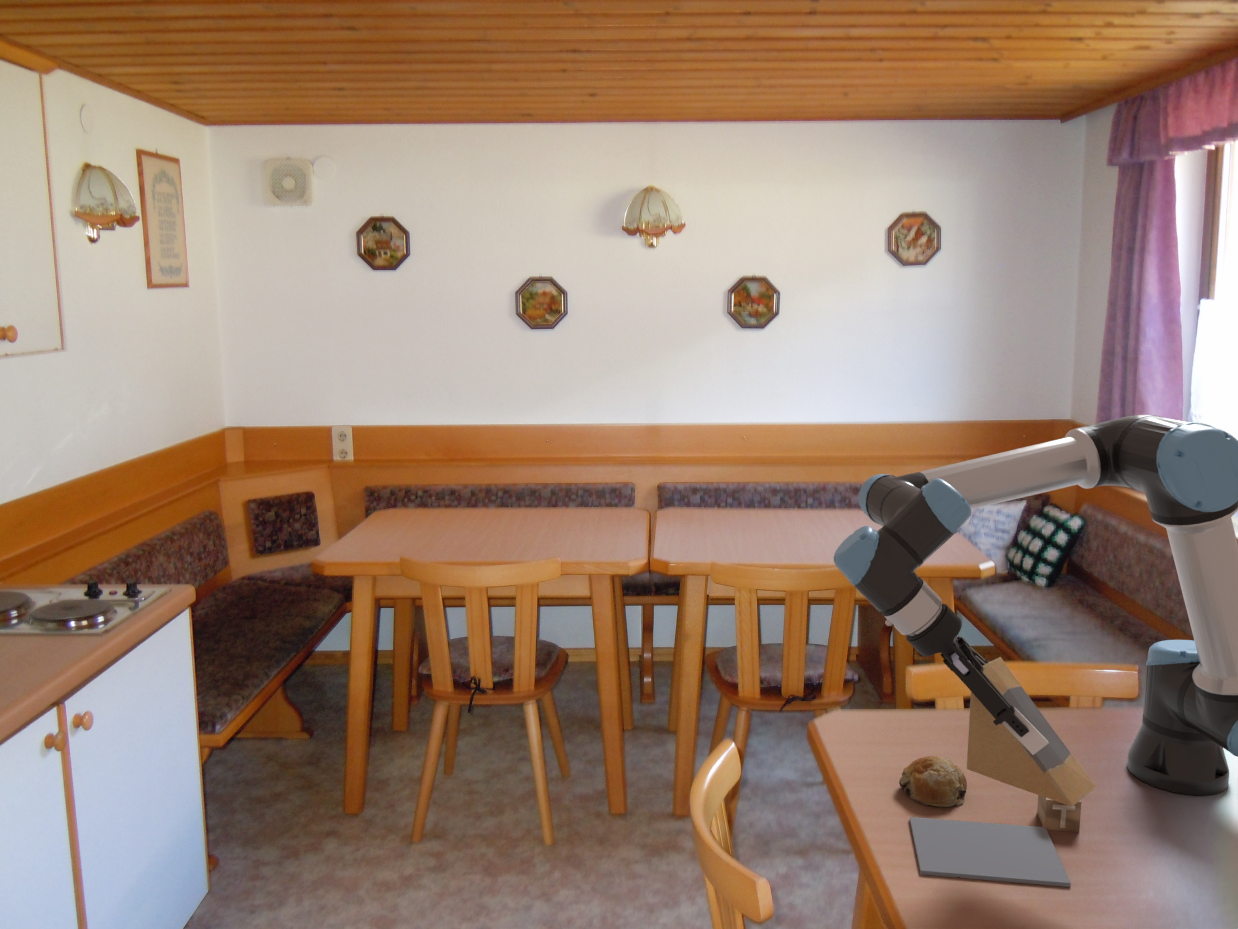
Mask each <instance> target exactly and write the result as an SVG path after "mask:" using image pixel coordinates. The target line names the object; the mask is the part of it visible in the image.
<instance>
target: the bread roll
mask: <svg viewBox="0 0 1238 929" xmlns="http://www.w3.org/2000/svg"><path fill="white" fill-rule="evenodd" d="M898 783H899V786H900V787H901V788H902V789H903V790H904V794H906V796H907V797H908V798H911V800H913V801H915V802H917V803H920V804H921V805H924V806H932V807H937V808H949V807H950V808H951V807H954V806H957V807H959V806H961V805H963V804H964V803H965V802H964V798H965V796H966V793H967V788H968V783H967V779H966V776H965V773H964V772H963V771H962V769H961V767H960V766H958V765H957V764H956V763H954V762H953V761H952V760H951V759H949V758H948V757H941V756H938V755H937V756H936V755H935V756H934V755H933V756H932V755H929V756H928V755H927V756H924V757H919V758H917V759H915V760H913V761H912V762H911V763H910V764H908V766H906V767H904V768H903V771H902V772H901V776H900V778H899V781H898Z"/></svg>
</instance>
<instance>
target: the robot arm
mask: <svg viewBox="0 0 1238 929" xmlns="http://www.w3.org/2000/svg"><path fill="white" fill-rule="evenodd" d="M1076 485H1077V486H1079V487H1081V488H1082V489H1088V490H1089V489H1092V488H1097V487H1104V486H1113V487H1115V486H1116V487H1124V488H1129V489H1132V490H1136V491H1139V492H1141V493H1144V495H1145V498H1146V502H1147V505H1148V509H1149V512H1150V517H1151V520H1152V521H1153V522H1154V523H1156V525H1157V524H1158V525H1159V526H1160V527H1163V528H1165V529H1166V533H1167V537H1168V542H1169V546H1170V549H1171V553H1172V558H1173V561H1174V565H1175V568H1176V574H1177V576H1178V577H1177V578H1178V581H1179V584H1180V589H1181V593H1182V596H1183V597H1182V598H1183V601H1184V605H1185V608H1186V612H1187V616H1188V620H1189V624H1190V628H1191V632H1192V637H1193V640H1191V639H1167V640H1161V641H1157V642H1155V643H1153V644H1152V645H1151V646H1150V647H1149V649H1148V654H1147V658H1146V662H1145V666H1146V668H1145V679H1144V680H1145V681H1144V682H1145V684H1144V697H1143V708H1142V719H1141V720H1142V721H1141V725H1140V727H1139V729H1138V732H1137V734H1136V735H1135V738H1134V739H1133V741H1132V744H1131V746H1130V748H1129V749H1128V752H1127V762H1126V767H1127V769H1128V771H1129V772H1130V773H1131V774H1132V775H1133V776H1134V777H1136V778H1137V779H1138V780H1139V781H1142V782H1143V783H1145V784H1148V785H1150V786H1152V787H1155V788H1158V789H1161V790H1164V791H1168V792H1172V793H1176V794H1177V793H1178V794H1183V795H1189V796H1190V795H1191V796H1209V795H1216V794H1220V793H1222V792H1224V791H1225V790H1227V788H1228V786H1229V781H1230V780H1229V779H1230V769H1229V768H1230V767H1229V765H1228V761H1227V758H1226V754H1225V751H1227V752H1229V753H1230V754H1231V755H1233V756H1235V757H1238V541H1237V535H1236V532H1235V527H1234V522H1233V519H1232V518H1233V516H1234V515H1235V514H1236V513H1237V512H1238V439H1237V438H1236V437H1235V436H1233V435H1232V434H1230V433H1229V432H1226V431H1225V430H1222V429H1220V428H1216V427H1214V426H1212V425H1209V424H1207V423H1201V422H1195V421H1194V422H1192V421H1190V422H1189V421H1182V420H1177V419H1173V418H1168V417H1164V416H1159V415H1155V414H1154V415H1153V414H1138V415H1137V414H1136V415H1129V416H1125V417H1123V416H1122V417H1118V418H1115V419H1110V420H1106V421H1101V422H1098V423H1094V424H1089V425H1084V426H1080V427H1076V428H1073V429H1070V430H1069V431H1068V432H1067V433H1066V434H1065V435H1064V437H1062V438H1058V439H1057V438H1056V439H1054V440H1050V441H1045V442H1042V443H1037V444H1033V445H1028V446H1024V447H1019V448H1015V449H1012V450H1011V449H1010V450H1008V451H1002V452H999V453H995V454H994V453H993V454H989V455H985V456H982V457H977V458H973V459H969V460H964V461H960V462H956V463H951V464H946V465H943V466H942V465H941V466H938V467H935V468H930V469H925V470H923V471H922V470H921V471H917V472H913V473H912V472H911V473H907V474H902V475H898V476H895V475H892V474H884V473H880V474H878V473H877V474H874V475H872V476H871V477H869V478H867V479H866V480H865V481H864V483H863V484H862V486H861V487H860V490H859V492H858V505H859V508H860V509H861V511H862V513H864V515H865V516H867V517H868V518H869V519H870V520H871V521H872V522H874V523H875V524H876V525H880V527H881V528H879V529H878V530H876V529H874V528H872V527H871V526H869V525H863V526H861V527H859V528H858V529H856V530H855V531H854V532H853V533H851V534H850V535H848V536H847V537H846V538H845V539H844V540H843V541H842V542H841V543H840V545H839V546H838V547H837V548H836V550H835V552H834V554H833V563H834V566H835V567H836V569H838V570H839V571H840V572H841V573H842V574H843V576H844V577H845V578H846V579H847V581H849V583H850V584H851V585H852V586H853V587H854V588H855V589H856V590H857V591H858V592H859V593H860V594H861V595H862V596H863V597H864V598H865V599H866V600H867V601H868V602H869V603H870V604H871V605H872V607H874V608H875V610H877V611H878V612H879V613H881V615H882V616H884V618H885V619H886V620H885V621H884V622H885V625H886V626H887V627H890V626H891V627H892V625H893V626H894V628H895V629H896V630H897V631H898V632H899V634H901V635H903V636H905V637H906V638H905V639H906V641H907V642H908V643H909V644H910V645H911V646H912V648H914V649H915V650H916V652H918V653H919V655H921V656H923V657H932V656H934V655H935V654H940V656H941V658H943V659H942V661H943V663H944V664H945V665H946V666H947V668H948V669H949V670H950V671H951V672H953V673H954V675H955V676H957V677H958V679H959V680H961V682H962V683H963V684H964V685H965V686H966V687H967V689H969V691H970V693H971V692H972V693H973V694H974V695H975V696H976V697H977V699H978V700H979V701H980V702H981V703H982V704H983V705H984V707H985V708H986V709H987V710H988V711H989V712H990V713H991V715H992V716H993V717H994V718H995V720H994V721H993V722H994V724H995V725H998V724H1003V725H1004V726H1005V727H1006V728H1007V729H1008V730H1009V731H1010V732H1011V733H1012V734H1013V735H1014V736H1015V737H1016V738H1017V739H1018V740H1019V741H1020V742H1021V743H1022V744H1023V745H1024V746H1025V747H1026V748H1027V749H1028V750H1029V752H1030V753H1031V754H1032V755H1034V754H1035V753H1037V752H1038V751H1039V750H1041V749H1042V748H1043V747H1044V746H1046V745H1047V744H1048V743H1049V742H1048V741H1047V740H1046V739H1045V738H1044V737H1043V735H1042V734H1041V733H1040V732H1039V731H1038V730H1037V729H1036V728H1035V727H1034V726H1033V725H1032V724H1031V723H1030V722H1029V721H1028V720H1027V719H1026V718H1025V717H1024V716H1023V715H1022V714H1021V713H1020V712H1019V711H1018V710H1017V709H1016V708H1015V707H1013V706H1011V705H1010V704H1009V702H1008V701H1007V700H1006V699H1005V698H1004V696H1003V695H1002V694H1001V693H1000V692H999V691H998V689H997V688H996V687H995V686H994V685H993V683H992V682H991V681H990V680H989V679H988V678H987V676H986V675H985V674H984V673H983V669H984V668H983V665H985V664H987V663H989V662H990V661H988V660H987V659H985V658H984V657H983V656H982V655H980V654H981V653H978V652H977V651H976V650H975V649H974V648H973V647H972V646H971V645H970V644H969V643H968V642H967V641H966V639H965V638H964V637H963V636H960V635H959V633H960V632H961V629H962V627H963V622H962V619H961V618H960V617H959V616H958V615H957V614H956V613H955V612H954V611H953V609H951V608H950V606H948V605H947V604H946V603H942V601H943V600H942V598H941V597H940V595H938V593H937V592H935V590H934V589H932V588H931V586H929V584H928V583H927V582H926V581H925V580H924V579H922V578H921V577H920V576H919V575H918V574H917V573H916V571H917V570H918V569H919V567H921V566H922V565H923V564H924V563H925V562H926V561H928V559H929V558H930V557H931V556H933V555H934V553H935V552H937V550H939V549H940V548H941V547H942V546H943V545H944V544H945V543H946V542H948V540H949V539H951V538H952V537H953V536H954V535H956V534H957V533H958V532H959V529H961V527H962V526H963V525H964V524H965V523H966V522H967V520H969V519H970V518H971V515H972V510H973V509H978V508H982V507H987V506H992V505H995V504H999V503H1005V502H1008V501H1013V500H1016V499H1022V498H1026V497H1030V496H1035V495H1039V494H1042V493H1047V492H1051V491H1055V490H1056V491H1057V490H1060V489H1065V488H1068V487H1073V486H1076ZM1224 750H1225V751H1224Z"/></svg>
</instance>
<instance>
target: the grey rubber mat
mask: <svg viewBox="0 0 1238 929" xmlns="http://www.w3.org/2000/svg"><path fill="white" fill-rule="evenodd" d="M909 824H910V829H911V834H912V839H913V842H914V847H915V848H914V849H915V853H916V859H917V863H918V868H919V873H920V875H922V876H923V875H925V876H935V877H947V878H957V877H960V878H959V879H969V880H970V879H972V880H982V879H983V880H985V881H996V882H1007V883H1018V884H1019V883H1020V884H1030V885H1041V886H1053V887H1055V886H1056V887H1064V888H1065V887H1067V888H1071V885H1072V884H1071V883H1072V882H1071V881H1070V878H1069V876H1068V874H1067V871H1066V870H1065V867H1064V865H1063V863H1062V860H1061V859H1060V856H1059V854H1058V852H1057V849H1056V847H1055V845H1054V842H1053V840H1052V838H1051V837H1050V834H1049V832H1048V830H1047V829H1046V827H1043V826H1034V825H1032V826H1031V825H1023V824H1020V825H1019V824H1009V823H1008V824H1007V823H993V822H982V821H981V822H980V821H969V820H956V819H955V820H954V819H941V818H929V817H915V816H914V817H913V816H910V817H909Z"/></svg>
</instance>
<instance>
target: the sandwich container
mask: <svg viewBox="0 0 1238 929" xmlns="http://www.w3.org/2000/svg"><path fill="white" fill-rule="evenodd" d="M988 662H989V663H987V664H985V665H983V668H984V669H983V673H984V674H985V675H986V676H987V678H988V679H989V680H990V681H991V682H992V683H993V685H994V686H995V687H996V688H997V689H998V691H999V692H1000V693H1001V694H1002V695H1003V696H1004V698H1005V699H1006V700H1007V701H1008V702H1009V704H1010V705H1011V706H1013V707H1015V708H1016V709H1017V710H1018V711H1019V712H1020V713H1021V714H1022V715H1023V716H1024V717H1025V718H1026V719H1027V720H1028V721H1029V722H1030V723H1031V724H1032V725H1033V726H1034V727H1035V728H1036V729H1037V730H1038V731H1039V732H1040V733H1041V734H1042V735H1043V737H1044V738H1045V739H1046V740H1047V741H1048V742H1049V743H1048V744H1047V745H1046V746H1044V747H1043V748H1042V749H1041V750H1039V751H1038V752H1037V753H1035V754H1034V755H1032V754H1031V753H1030V752H1029V750H1028V749H1027V748H1026V747H1025V746H1024V745H1023V744H1022V743H1021V742H1020V741H1019V740H1018V739H1017V738H1016V737H1015V736H1014V735H1013V734H1012V733H1011V732H1010V731H1009V730H1008V729H1007V728H1006V727H1005V726H1004V725H1003V724H998V725H995V724H994V722H993V721H994V720H995V718H994V717H993V716H992V715H991V713H990V712H989V711H988V710H987V709H986V708H985V707H984V705H983V704H982V703H981V702H980V701H979V700H978V699H977V697H976V696H975V695H974V694H973V693H972V692H971V691H970V701H969V704H970V705H969V718H968V719H969V720H968V737H967V740H968V741H967V754H966V755H967V760H966V770H968V771H971V772H973V773H976V774H979V775H982V776H985V777H987V778H989V779H992V780H995V781H998V782H1000V783H1003V784H1006V785H1009V786H1012V787H1014V788H1018V789H1020V790H1024V791H1026V792H1029V793H1031V794H1035V795H1037V796H1038V795H1040V796H1043V797H1046V798H1049V799H1052V800H1054V801H1057V802H1060V803H1063V804H1066V805H1069V806H1073V805H1075V804H1076V803H1077V802H1079V801H1080V800H1081V801H1082V800H1083V799H1084V798H1086V797H1087V796H1088V795H1089V794H1090V793H1091V792H1092V791H1093V790H1094V789H1095V788H1096V787H1097V785H1096V783H1094V781H1093V780H1092V779H1091V777H1090V776H1089V775H1088V774H1087V772H1086V771H1085V769H1084V768H1083V767H1082V765H1080V764H1081V763H1079V762H1078V760H1077V759H1076V758H1075V756H1074V755H1073V754H1072V751H1070V750H1069V749H1068V747H1067V746H1066V744H1065V743H1064V742H1063V741H1062V739H1061V738H1060V737H1059V735H1058V734H1057V732H1056V731H1055V730H1054V729H1053V727H1052V726H1051V724H1050V723H1049V722H1048V720H1047V719H1046V718H1045V716H1044V715H1043V714H1042V712H1041V710H1039V708H1038V706H1037V705H1036V704H1035V702H1034V701H1033V700H1032V698H1031V697H1030V695H1028V693H1027V692H1026V690H1025V689H1024V688H1023V687H1022V685H1021V683H1020V682H1019V681H1018V679H1017V678H1016V677H1015V675H1014V674H1013V673H1012V670H1010V668H1009V667H1008V666H1007V664H1006V663H1005V661H1004V659H1003V658H1002V657H1001V656H999V657H997V658H995V659H993V660H991V661H988Z"/></svg>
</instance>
